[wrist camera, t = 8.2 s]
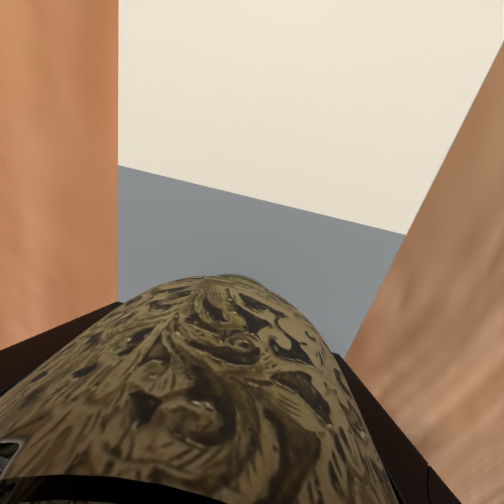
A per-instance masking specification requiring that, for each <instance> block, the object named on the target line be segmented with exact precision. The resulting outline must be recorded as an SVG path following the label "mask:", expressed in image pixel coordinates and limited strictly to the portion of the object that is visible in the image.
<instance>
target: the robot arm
mask: <svg viewBox="0 0 504 504" xmlns="http://www.w3.org/2000/svg"><path fill="white" fill-rule="evenodd" d="M122 304H123V302H114V303H112V304H110V305H107V306H105V307H103V308H100V309H98V310H95V311H93V312H91V313H88V314H86V315H84V316H81V317H79V318H76V319H74V320H72V321H69V322H67V323H65V324H62V325H60V326H57V327H55V328H53V329H50V330H48V331H46V332H43V333H41V334H38V335H36V336H34V337H31V338H29V339H27V340H24V341H22V342H19V343H17V344H15V345H12V346H10V347H8V348H5V349H3V350H0V397H1V396H2V395H4V394H5V393H6V392H7V391H9V390H10V389H11V388H12V387H14V386H15V385H16V384H17V383H19V382H20V381H21V380H22V379H24V378H25V377H26V376H27V375H29V374H30V373H31V372H33V371H34V370H35V369H36V368H38V367H39V366H40V365H41V364H43V363H44V362H45V361H47V360H48V359H49V358H50V357H52V356H53V355H54V354H55V353H57V352H58V351H59V350H61V349H62V348H63V347H64V346H66V345H67V344H68V343H70V342H71V341H72V340H73V339H75V338H76V337H77V336H79V335H80V334H81V333H83V332H84V331H85V330H87V329H88V328H89V327H91V326H92V325H93V324H95V323H96V322H98V321H99V320H100V319H102V318H103V317H104V316H106V315H107V314H109V313H110V312H111V311H113V310H114V309H116V308H117V307H119V306H120V305H122ZM332 354H333V356H334V358H335V360H336V361H337V363H338V365H339V367H340V369H341V371H342V373H343V375H344V377H345V379H346V381H347V384H348V386H349V388H350V390H351V392H352V395H353V397H354V399H355V401H356V404H357V406H358V408H359V411H360V413H361V415H362V418H363V420H364V422H365V425H366V427H367V429H368V432H369V434H370V436H371V439H372V441H373V443H374V446H375V448H376V450H377V453H378V455H379V458H380V460H381V462H382V465H383V467H384V469H385V472H386V474H387V477H388V479H389V481H390V484H391V486H392V489H393V491H394V493H395V496H396V498H397V501H398V503H399V504H462V503H461V502H460V501H459V500H458V499H457V497H456V496H455V495H454V494H453V493H452V492H451V490H450V489H449V488H448V487H447V486H446V484H445V483H444V482H443V481H442V480H441V478H440V477H439V476H438V475H437V473H436V472H435V471H434V470H433V469H432V467H431V466H428V463H427V461H426V460H425V459H424V458H423V456H422V455H421V454H420V453H419V452H418V450H417V449H416V448H415V447H414V445H413V444H412V443H411V442H410V441H409V439H408V438H407V437H406V436H405V434H404V433H403V432H402V431H401V429H400V428H399V427H398V426H397V425H396V423H395V422H394V421H393V420H392V418H391V417H390V416H389V415H388V414H387V412H386V411H385V410H384V409H383V407H382V406H381V405H380V404H379V403H378V401H377V400H376V399H375V398H374V396H373V395H372V394H371V393H370V391H369V390H368V389H367V388H366V387H365V385H364V384H363V383H362V382H361V380H360V379H359V378H358V377H357V376H356V374H355V373H354V372H353V371H352V369H351V368H350V367H349V366H348V365H347V363H346V362H345V361H344V360H343V358H342V357H341V356H340V355H339V354H337V353H334V352H332Z"/></svg>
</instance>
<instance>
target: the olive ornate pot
mask: <svg viewBox="0 0 504 504" xmlns="http://www.w3.org/2000/svg"><path fill="white" fill-rule="evenodd" d="M0 504H399V503H398V501H397V498H396V496H395V493H394V491H393V489H392V486H391V484H390V481H389V479H388V477H387V474H386V472H385V469H384V467H383V465H382V462H381V460H380V458H379V455H378V453H377V450H376V448H375V446H374V443H373V441H372V439H371V436H370V434H369V432H368V429H367V427H366V425H365V422H364V420H363V418H362V415H361V413H360V411H359V408H358V406H357V404H356V401H355V399H354V397H353V395H352V392H351V390H350V388H349V386H348V384H347V381H346V379H345V377H344V375H343V373H342V371H341V369H340V367H339V365H338V363H337V361H336V360H335V358H334V356H333V354H332V352H331V351H330V349H329V347H328V346H327V344H326V343H325V341H324V340H323V338H322V337H321V335H320V334H319V332H318V331H317V330H316V328H315V327H314V326H313V325H312V323H311V322H310V321H309V320H308V319H307V318H306V317H305V316H304V315H303V314H302V313H301V312H300V311H299V310H298V309H297V308H296V307H294V306H293V305H292V304H291V303H289V302H288V301H287V300H285V299H284V298H282V297H281V296H279V295H277V294H276V293H274V292H272V291H270V290H268V289H267V288H266V287H265V286H264V285H263V284H261V283H260V282H258V281H257V280H255V279H253V278H251V277H248V276H245V275H241V274H233V273H227V274H219V275H215V276H194V277H187V278H182V279H178V280H174V281H171V282H167V283H164V284H161V285H158V286H156V287H153V288H151V289H149V290H147V291H145V292H143V293H141V294H139V295H138V296H136V297H134V298H132V299H130V300H128V301H127V302H125V303H123V304H122V305H120V306H119V307H117V308H116V309H114V310H113V311H111V312H110V313H109V314H107V315H106V316H104V317H103V318H102V319H100V320H99V321H98V322H96V323H95V324H93V325H92V326H91V327H89V328H88V329H87V330H85V331H84V332H83V333H81V334H80V335H79V336H77V337H76V338H75V339H73V340H72V341H71V342H70V343H68V344H67V345H66V346H64V347H63V348H62V349H61V350H59V351H58V352H57V353H55V354H54V355H53V356H52V357H50V358H49V359H48V360H47V361H45V362H44V363H43V364H41V365H40V366H39V367H38V368H36V369H35V370H34V371H33V372H31V373H30V374H29V375H27V376H26V377H25V378H24V379H22V380H21V381H20V382H19V383H17V384H16V385H15V386H14V387H12V388H11V389H10V390H9V391H7V392H6V393H5V394H4V395H2V396H1V397H0Z"/></svg>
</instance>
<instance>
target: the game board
mask: <svg viewBox="0 0 504 504" xmlns="http://www.w3.org/2000/svg"><path fill="white" fill-rule="evenodd" d="M503 41H504V0H119V71H118V266H117V302H123V303H125V302H127V301H128V300H130V299H132V298H134V297H136V296H138V295H139V294H141V293H143V292H145V291H147V290H149V289H151V288H153V287H156V286H158V285H161V284H164V283H167V282H171V281H174V280H178V279H182V278H187V277H194V276H215V275H219V274H227V273H233V274H241V275H245V276H248V277H251V278H253V279H255V280H257V281H258V282H260V283H261V284H263V285H264V286H265V287H266V288H267V289H268V290H270V291H272V292H274V293H276V294H277V295H279V296H281V297H282V298H284V299H285V300H287V301H288V302H289V303H291V304H292V305H293V306H294V307H296V308H297V309H298V310H299V311H300V312H301V313H302V314H303V315H304V316H305V317H306V318H307V319H308V320H309V321H310V322H311V323H312V325H313V326H314V327H315V328H316V330H317V331H318V332H319V334H320V335H321V337H322V338H323V340H324V341H325V343H326V344H327V346H328V347H329V349H330V351H331V352H334V353H337V354H339V355H340V356H341V357H342V358H343V360H344V358H345V356H346V354H347V352H348V350H349V348H350V346H351V344H352V342H353V340H354V338H355V336H356V334H357V332H358V330H359V328H360V326H361V324H362V322H363V320H364V318H365V316H366V314H367V312H368V310H369V308H370V306H371V304H372V302H373V300H374V298H375V296H376V294H377V292H378V290H379V288H380V286H381V284H382V282H383V280H384V278H385V276H386V274H387V272H388V270H389V268H390V266H391V264H392V262H393V260H394V258H395V256H396V254H397V252H398V250H399V248H400V246H401V244H402V242H403V240H404V238H405V236H406V234H407V232H408V230H409V228H410V226H411V224H412V222H413V220H414V218H415V216H416V214H417V212H418V210H419V208H420V206H421V204H422V202H423V200H424V198H425V196H426V194H427V192H428V190H429V188H430V186H431V184H432V182H433V180H434V179H435V177H436V175H437V173H438V171H439V169H440V167H441V165H442V163H443V161H444V159H445V157H446V155H447V153H448V151H449V149H450V147H451V145H452V143H453V141H454V139H455V137H456V135H457V133H458V131H459V129H460V127H461V125H462V123H463V121H464V119H465V117H466V115H467V113H468V111H469V109H470V107H471V105H472V103H473V101H474V99H475V97H476V95H477V93H478V91H479V89H480V87H481V85H482V83H483V81H484V79H485V77H486V75H487V73H488V71H489V69H490V67H491V65H492V63H493V61H494V59H495V57H496V55H497V53H498V51H499V49H500V47H501V45H502V43H503Z"/></svg>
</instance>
